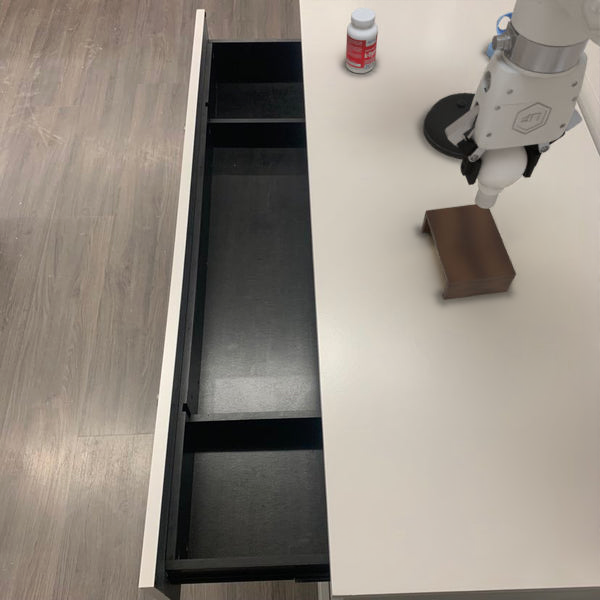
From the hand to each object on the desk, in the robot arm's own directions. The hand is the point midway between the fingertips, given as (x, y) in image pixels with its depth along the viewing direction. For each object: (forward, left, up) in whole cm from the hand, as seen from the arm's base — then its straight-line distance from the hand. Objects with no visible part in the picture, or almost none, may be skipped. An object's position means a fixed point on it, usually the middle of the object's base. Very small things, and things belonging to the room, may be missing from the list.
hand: (495, 172), depth 67 cm
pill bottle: (+7, -53, -21) cm, 57 cm away
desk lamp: (-8, -30, -21) cm, 37 cm away
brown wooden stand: (0, -1, -20) cm, 20 cm away
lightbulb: (0, 0, -6) cm, 6 cm away
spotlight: (-22, -51, -21) cm, 59 cm away
